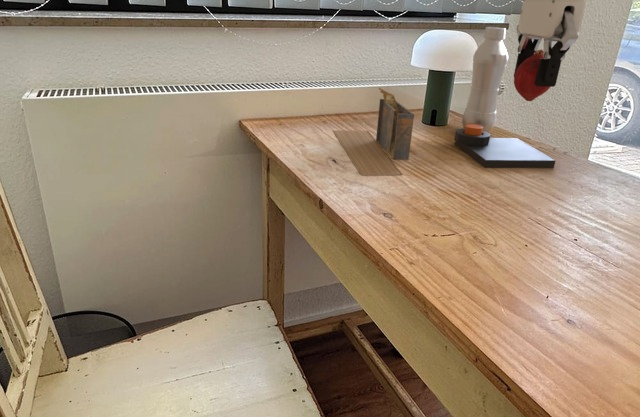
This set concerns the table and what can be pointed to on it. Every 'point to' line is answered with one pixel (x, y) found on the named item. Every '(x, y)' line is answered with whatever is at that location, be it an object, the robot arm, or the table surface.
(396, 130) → the ruin model on sheet
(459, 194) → the table surface
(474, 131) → the button
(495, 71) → the plastic bottle
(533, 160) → the scale
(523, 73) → the onion
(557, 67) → the robot arm
